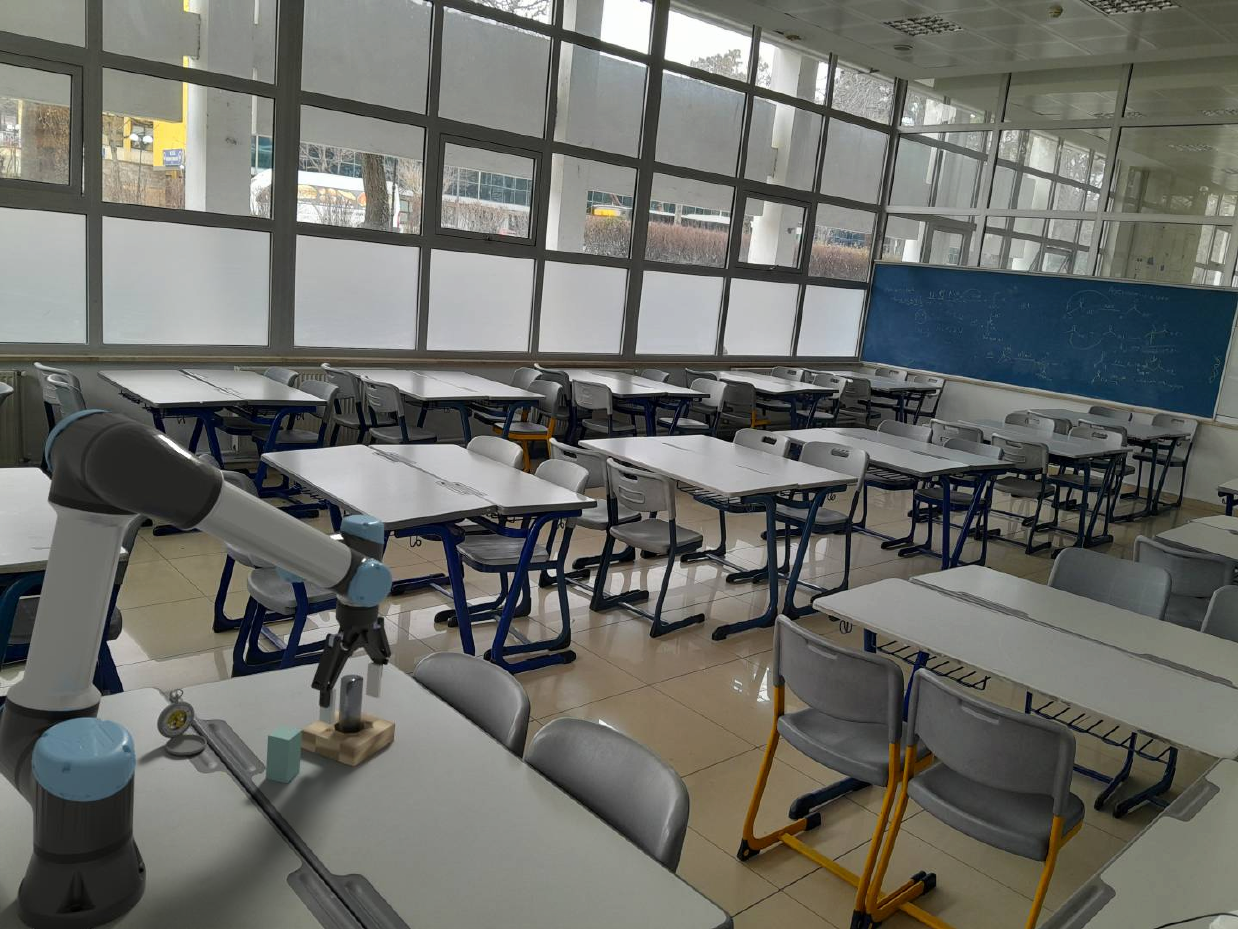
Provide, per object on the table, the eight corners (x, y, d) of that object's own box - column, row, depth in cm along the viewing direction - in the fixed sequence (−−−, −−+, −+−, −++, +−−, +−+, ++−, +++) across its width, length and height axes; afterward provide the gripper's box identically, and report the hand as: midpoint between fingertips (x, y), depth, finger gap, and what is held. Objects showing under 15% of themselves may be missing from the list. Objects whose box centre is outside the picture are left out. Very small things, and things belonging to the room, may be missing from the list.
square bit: (286, 783, 158) (289, 740, 157) (265, 778, 159) (268, 735, 158) (299, 772, 162) (302, 730, 161) (279, 767, 163) (281, 725, 162)
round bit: (349, 751, 171) (353, 685, 169) (332, 745, 173) (336, 680, 170) (363, 742, 175) (367, 678, 172) (346, 736, 176) (350, 672, 174)
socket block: (353, 766, 166) (354, 748, 165) (300, 747, 170) (301, 730, 170) (393, 740, 177) (395, 723, 176) (343, 722, 181) (344, 706, 181)
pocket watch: (195, 759, 162) (197, 706, 160) (148, 754, 162) (149, 701, 160) (216, 737, 170) (218, 687, 169) (171, 732, 170) (173, 681, 168)
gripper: (329, 623, 156) (321, 740, 160) (414, 587, 178) (406, 690, 182) (294, 613, 159) (287, 728, 162) (382, 579, 181) (375, 680, 185)
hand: (350, 708), depth 172 cm, fingers open, 13 cm apart
